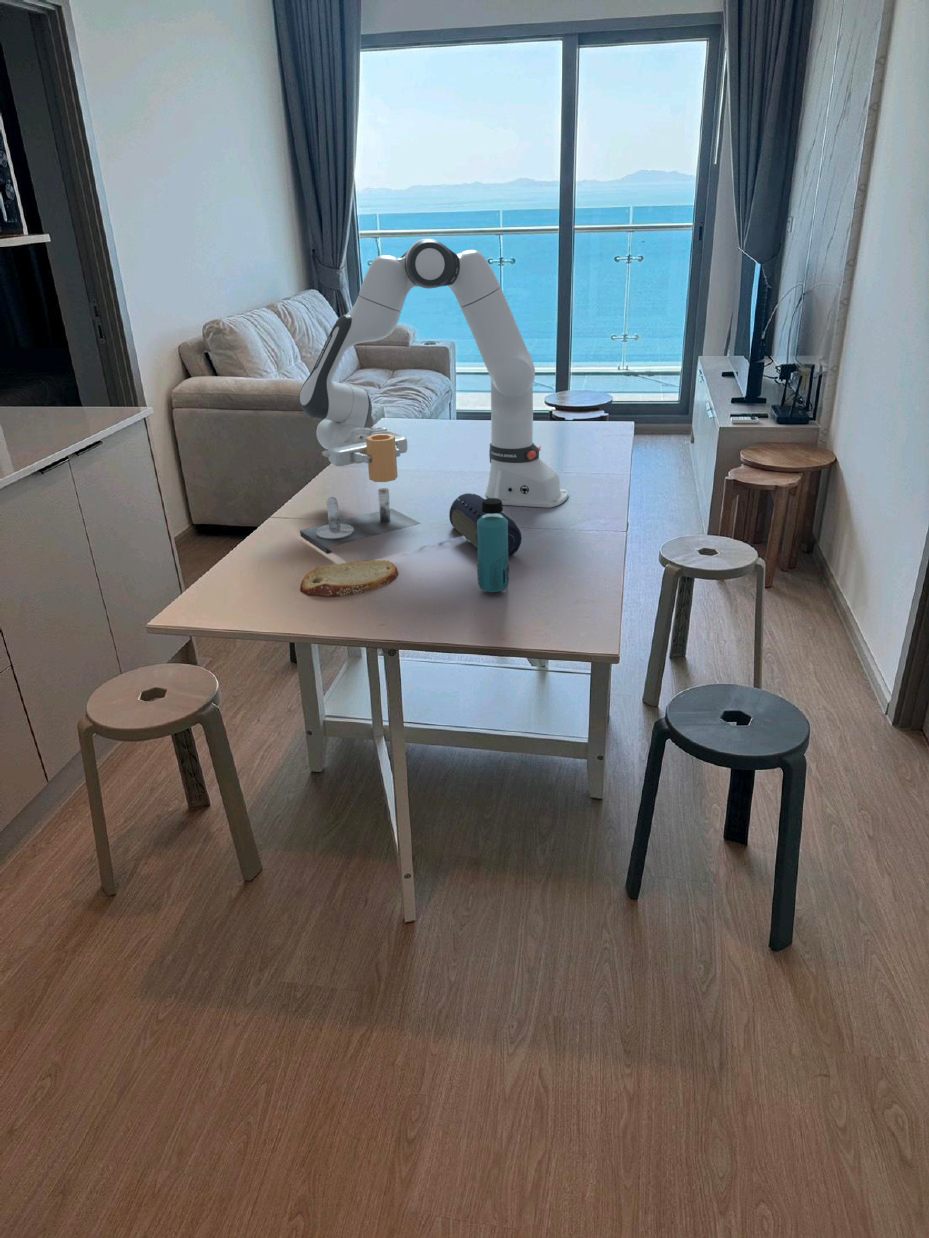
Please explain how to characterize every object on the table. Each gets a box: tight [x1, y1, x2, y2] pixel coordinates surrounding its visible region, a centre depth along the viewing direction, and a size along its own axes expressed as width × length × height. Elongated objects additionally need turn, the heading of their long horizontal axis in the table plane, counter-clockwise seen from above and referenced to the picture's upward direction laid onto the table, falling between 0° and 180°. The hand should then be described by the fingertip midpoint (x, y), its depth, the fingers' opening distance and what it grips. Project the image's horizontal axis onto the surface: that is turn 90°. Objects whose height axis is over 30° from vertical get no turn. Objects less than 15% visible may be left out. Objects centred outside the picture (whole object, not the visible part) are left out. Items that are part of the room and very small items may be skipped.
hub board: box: [299, 487, 421, 554], centre depth 202 cm, size 26×14×11 cm, turn 125°
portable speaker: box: [448, 492, 522, 558], centre depth 193 cm, size 25×10×10 cm, turn 22°
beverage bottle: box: [476, 497, 510, 593], centre depth 168 cm, size 6×7×20 cm
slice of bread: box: [299, 559, 399, 598], centre depth 178 cm, size 18×18×4 cm
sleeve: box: [366, 434, 398, 483], centre depth 200 cm, size 6×6×10 cm
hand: (383, 456), depth 199 cm, fingers closed on sleeve, 6 cm apart
